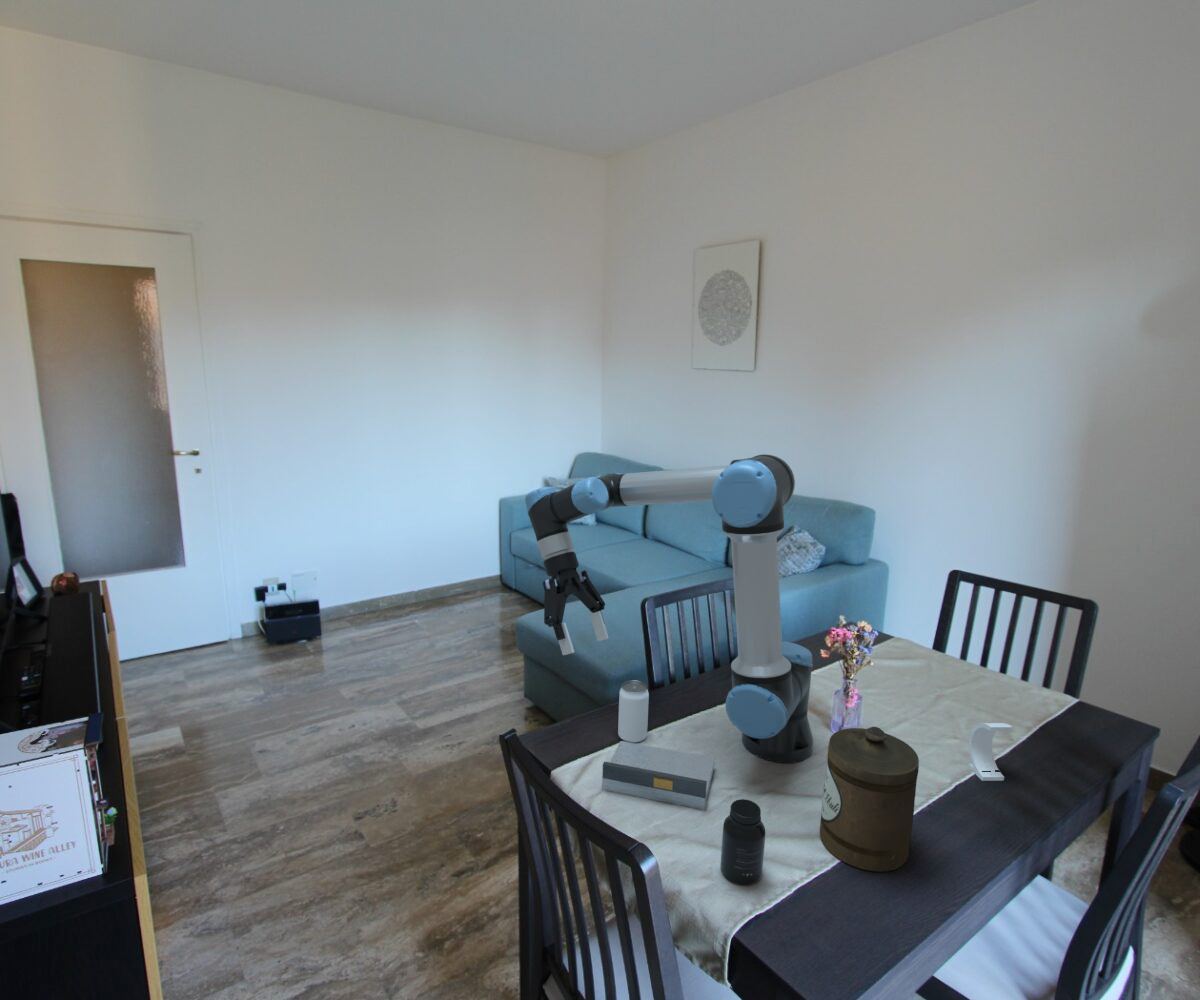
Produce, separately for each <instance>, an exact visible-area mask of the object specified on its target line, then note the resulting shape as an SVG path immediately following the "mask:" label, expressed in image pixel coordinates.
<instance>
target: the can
mask: <svg viewBox="0 0 1200 1000" xmlns="http://www.w3.org/2000/svg"><path fill="white" fill-rule="evenodd" d="M618 695H619V697H618V700H619V701H618V723H617V724H618V727H617V728H618V729H617V735H618V737H619V738H620V740H621V741H624V742H630V743H635V744H638V743H640V742H642V741H644V740H645V739H646V738H647V736H648V720H649V704H650V703H649V702H650V701H649V699H650V695H649V691H648V685H647V684H646V683H645V682H644V681H640V680H635V679H632V680H631V679H630V680H626V681H624V682H623V683H622V684H621V688H620V689H619V694H618Z"/></svg>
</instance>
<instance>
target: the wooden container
mask: <svg viewBox="0 0 1200 1000" xmlns="http://www.w3.org/2000/svg"><path fill="white" fill-rule="evenodd" d="M919 762H920V760H919V756H918V753H917V752H916V750H914V749H913V747H911V746H910V745H909V744H908V743H907V742H905V741H903V739H902V740H901V739H900V738H897V737H896V736H894V735H892V734H888V733H886V732H885V731H884V730H883V729H881V728H880V727H878V726H870V727H867V728H865V727H864V728H863V727H861V728H860V727H859V728H857V727H851V728H850V727H849V728H844V729H840V730H838V731H836V732H834V733H833V734H832V735H831V736H830V737H829V741H828V747H827V761H826V767H825V777H824V784H823V793H822V802H821V812H820V813H821V814H820V823H819V837H820V840H821V842H822V844H823V845H824V847H825V848H826V850H828V851H829V853H830V854H832V855H833V856H834V857H835V858H837V859H839V860H840V861H841V862H843V863H845V864H847V865H849V866H852V867H854V868H857V869H861V870H865V871H868V872H870V871H871V872H879V873H881V872H882V873H883V872H891V871H894V870H898V869H899V868H901V867H902V866H904V864H905V863H906V862H907V860H908V858H909V853H910V848H911V847H910V846H911V837H912V830H913V825H914V823H913V822H914V814H915V813H914V812H915V804H916V803H915V802H916V791H917V783H918V782H917V780H918V774H919V766H920V765H919V764H920V763H919Z"/></svg>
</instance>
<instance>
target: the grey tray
mask: <svg viewBox="0 0 1200 1000" xmlns="http://www.w3.org/2000/svg"><path fill="white" fill-rule="evenodd" d="M715 759H716V758H715V757H711V756H707V755H701V754H700V755H699V754H695V753H690V752H689V753H688V752H685V751H678V750H673V749H667V748H661V747H656V746H651V745H645V744H640V743H630V742H626V741H624V740H620V741H619V744H618V745H617V747H616V750H615V752H614V753H613V755H612V758H611V759H610V762H609V761H603V762H602V776H601V777H602V778H601V779H602V782H601V784H602V786H601V790H602V791H609V792H612V793H618V794H622V795H628V796H632V797H638V798H643V799H647V800H652V801H657V802H662V803H668V804H671V805H677V806H682V807H687V808H692V809H697V810H702V811H705V809H706V805H707V801H708V796H709V793H710V789H711V788H710V787H711V783H712V779H713V774H714V770H715Z"/></svg>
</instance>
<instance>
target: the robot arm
mask: <svg viewBox="0 0 1200 1000" xmlns="http://www.w3.org/2000/svg"><path fill="white" fill-rule="evenodd" d="M795 481H796V480H795V474H794V473H793V470H792V468H791V467H790V465H789V464H788V463H787V462H786V461H785V460H784V459H782V458H780V457H778V456H775V455H772V454H758V455H755V456H752V457H747V458H741V459H740V458H739V459H732V460H731V461H729V463H728V464H727V465H718V466H717V465H715V466H714V465H713V466H705V467H704V466H703V467H690V468H689V467H688V468H677V469H668V470H667V469H666V470H656V471H655V470H654V471H643V472H642V471H641V472H630V473H629V472H628V473H619V472H612V473H606V474H604V475H602V476H599V477H595V476H590V477H587V478H584V479H580V480H578V481H577V482H576V483H573V484H571V485H569V486H567V487H565V488H563V489H561V490H556V487H554V486H543V487H540V488H538V489H534V490H532V491H530V492H528V493H526V495H525V497H524V499H525V500H524V501H525V504H526V510H527V515H528V518H529V520H530V523H531V526H532V529H533V532H534V535H535V539H536V542H537V545H538V548H539V551H540V556H541V558H542V559H544V560H543V563H542V564H543V566H544V569H545V572H546V576H548V577H551V578H549V579H545V580H543V581H542V586H543V590H544V600H543V601H544V612H543V615H544V616H543V622H544V625H545V626H548V628H551V627H552V628H553V631H554V634H555V638H556V640H557V641H558V644H559V646H560V647H559V648H560V651H561V653H562V656H566V655H571V654H573V653H575V649H574V645H573V643H572V640H571V636H570V633H569V630H568V626H567V623H566V622H563V621H564V615H565V610H566V609H565V608H566V603H567V599H568V597H569V596H573V597H574V596H575V597H576V598H577V599H578V600H579V601H580V602H581V603H582V604H583V605H584V606H585V607H586V609H588V610H589V612H590V614H589V618H590V620H591V624H592V627H593V630H594V634H595V638H596V641H597V642H601V641H602V642H603V641H604V640H608V639H610V638H609V634H608V631H607V628H606V625H605V621H604V617H603V614H602V613H603V612H602V611H603V610H605V607H606V602H605V601H604V600H603V598H602V596H601V595H600V593H599V591H597V589H596V587H595V586H594V584H593V583H592V581H591V580H590V577H589V575H588V572H587V571H586V570H581V571H579V572H578V571H577V568H579V566H580V564H579V561H578V558H577V554H576V552H575V551H573V550H574V543H573V540H572V538H571V534H570V532H569V528H568V525H567V524H569V523H572V522H573V521H577V520H580V519H582V518H584V517H587V516H589V515H593V514H595V513H598V512H600V511H604V510H607V509H609V508H615V507H629V506H647V505H648V506H649V505H665V504H666V505H667V504H668V505H669V504H670V505H671V504H685V503H686V504H690V503H709V502H711V503H712V506H713V508H714V511H715V513H716V514H717V516H718V517H719V518H720V519H721V527H722V533H723V534H725V535H726V536H727V537H728V538H729V539H730V543H731V559H732V576H733V590H734V607H735V623H736V625H735V626H736V640H737V657H736V658H735V659H733V660H732V661H731V665H730V669H731V670H730V671H731V687H732V688H731V689H730V691H728V693H727V696H726V699H725V711H726V714H727V717H728V719H729V721H730V723H732V725H733V726H734V727H736V728H737V729H738V731H740V732H741V742H742V744H743V745H744V747H745V749H746V750H747V751H749V752H750V753H752V754H753V755H755V756H757V757H759V758H761V759H764V760H767V761H771V762H775V763H784V764H785V763H786V764H787V763H789V764H790V763H798V762H802V761H804V760H807V759H808V758H809V757H810V756H811V755H812V752H813V747H814V746H813V745H814V737H813V734H812V729H811V727H810V726H811V725H810V722H809V719H808V710H809V701H810V688H811V680H812V679H811V678H812V671H813V667H814V664H813V654H812V652H811V651H810V649H808V648H806V647H804V646H802V645H800V644H797V643H793V642H788V641H783V638H782V635H783V634H782V617H781V598H780V597H781V596H780V577H779V560H778V559H779V558H778V557H779V556H778V543H777V541H778V540H777V538H778V537H779V535H780V534H782V532H783V531H784V530H785V517H784V514H785V513H784V507H785V505H786V504H787V503H788V502H789V501H790V500H791V498H792V497H793V494H794V491H795V488H796V487H795V486H796V484H795V483H796V482H795Z"/></svg>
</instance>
